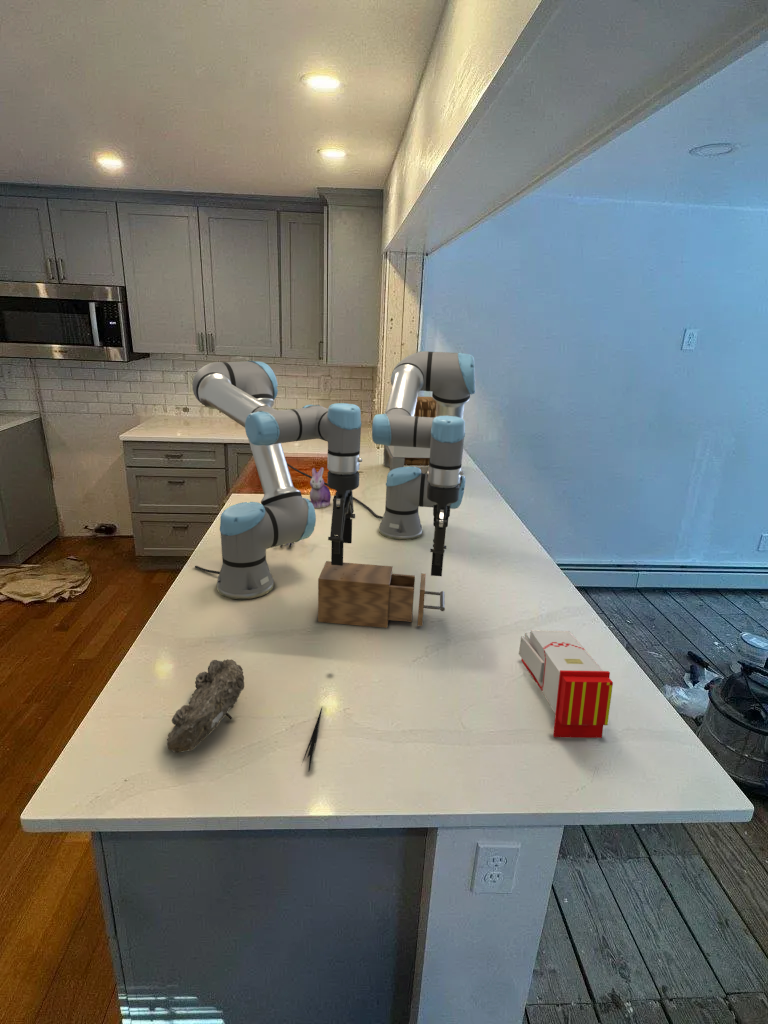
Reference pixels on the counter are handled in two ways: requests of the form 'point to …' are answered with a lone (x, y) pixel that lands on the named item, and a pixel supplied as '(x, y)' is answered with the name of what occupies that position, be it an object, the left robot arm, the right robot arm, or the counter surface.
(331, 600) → the cabinet
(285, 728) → the counter surface
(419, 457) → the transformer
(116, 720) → the counter surface
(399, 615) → the drawer
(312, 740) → the feather
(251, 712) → the counter surface
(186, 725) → the fossil
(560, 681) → the toy
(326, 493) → the figurine
